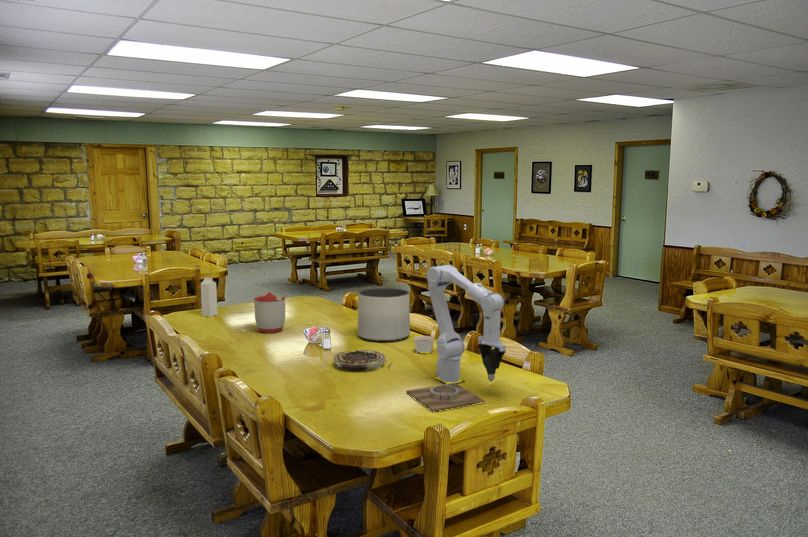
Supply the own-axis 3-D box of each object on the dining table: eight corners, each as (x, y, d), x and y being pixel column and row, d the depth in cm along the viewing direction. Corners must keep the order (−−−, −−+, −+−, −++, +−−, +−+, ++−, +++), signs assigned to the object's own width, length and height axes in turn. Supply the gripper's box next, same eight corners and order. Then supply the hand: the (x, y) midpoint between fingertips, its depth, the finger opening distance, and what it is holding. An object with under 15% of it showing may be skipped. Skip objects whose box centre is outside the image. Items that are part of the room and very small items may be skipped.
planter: (350, 333, 297) (350, 289, 294) (396, 328, 307) (396, 286, 304) (369, 345, 274) (369, 298, 271) (418, 339, 285) (418, 294, 282)
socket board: (406, 393, 211) (406, 390, 211) (454, 385, 220) (454, 382, 220) (432, 412, 193) (432, 409, 193) (484, 403, 202) (484, 400, 202)
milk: (209, 314, 338) (207, 276, 336) (217, 315, 336) (216, 277, 333) (201, 316, 333) (200, 277, 330) (210, 317, 330) (208, 278, 328)
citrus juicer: (295, 329, 305) (294, 290, 302) (270, 336, 290) (269, 296, 288) (272, 325, 313) (271, 287, 311) (248, 331, 299) (246, 292, 296)
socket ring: (425, 393, 209) (425, 387, 208) (449, 388, 213) (449, 383, 213) (438, 402, 200) (438, 396, 200) (464, 397, 204) (464, 392, 204)
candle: (434, 349, 267) (434, 336, 266) (433, 355, 258) (433, 341, 258) (414, 349, 268) (414, 335, 267) (413, 354, 259) (413, 340, 258)
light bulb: (497, 378, 213) (497, 351, 212) (500, 383, 207) (500, 354, 207) (482, 379, 213) (481, 351, 212) (484, 383, 207) (484, 355, 206)
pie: (383, 379, 228) (382, 366, 228) (315, 375, 234) (315, 363, 233) (398, 358, 256) (398, 347, 255) (337, 355, 261) (337, 344, 260)
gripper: (471, 325, 213) (470, 361, 215) (493, 334, 200) (492, 373, 202) (487, 323, 216) (486, 359, 218) (511, 332, 203) (510, 370, 205)
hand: (490, 366), depth 210 cm, fingers closed on light bulb, 6 cm apart
